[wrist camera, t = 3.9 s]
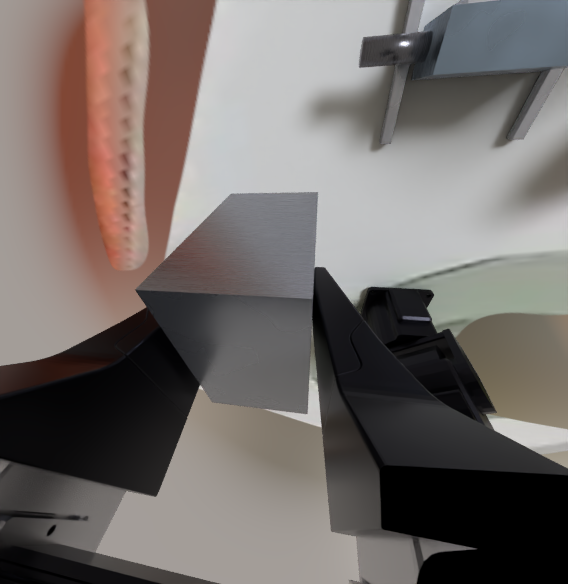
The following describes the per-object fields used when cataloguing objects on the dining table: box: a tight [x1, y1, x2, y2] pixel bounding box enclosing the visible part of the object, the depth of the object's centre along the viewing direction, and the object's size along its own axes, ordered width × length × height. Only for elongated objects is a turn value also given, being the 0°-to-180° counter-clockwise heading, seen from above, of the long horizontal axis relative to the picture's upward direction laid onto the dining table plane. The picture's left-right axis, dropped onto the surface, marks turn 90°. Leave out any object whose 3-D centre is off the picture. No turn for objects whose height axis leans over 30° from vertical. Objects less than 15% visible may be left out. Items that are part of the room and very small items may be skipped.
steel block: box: [136, 192, 318, 414], centre depth 8 cm, size 4×6×6 cm, turn 3°
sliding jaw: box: [359, 0, 568, 80], centre depth 10 cm, size 2×10×3 cm, turn 92°
